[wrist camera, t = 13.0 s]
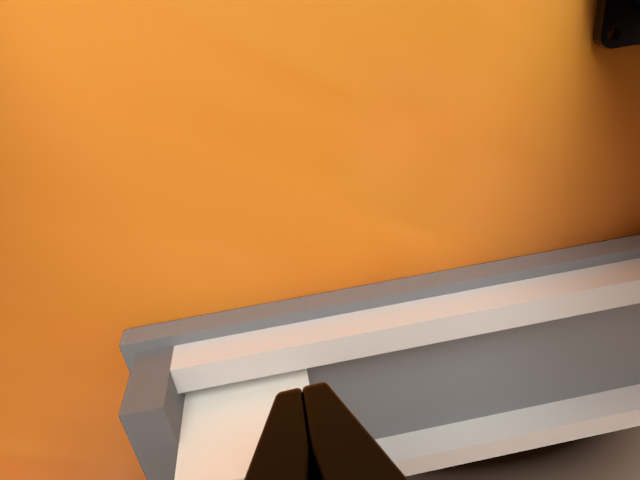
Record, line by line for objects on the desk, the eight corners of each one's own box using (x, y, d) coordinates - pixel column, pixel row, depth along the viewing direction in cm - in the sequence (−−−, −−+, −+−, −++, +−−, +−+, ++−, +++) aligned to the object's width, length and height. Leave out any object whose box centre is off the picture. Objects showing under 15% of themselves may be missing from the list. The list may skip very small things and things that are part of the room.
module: (304, 359, 21) (322, 460, 16) (320, 441, 23) (339, 547, 19) (186, 382, 20) (172, 492, 16) (214, 463, 23) (209, 577, 18)
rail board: (713, 220, 22) (810, 268, 18) (664, 384, 27) (733, 448, 23) (124, 329, 20) (98, 408, 16) (185, 485, 25) (176, 573, 21)
